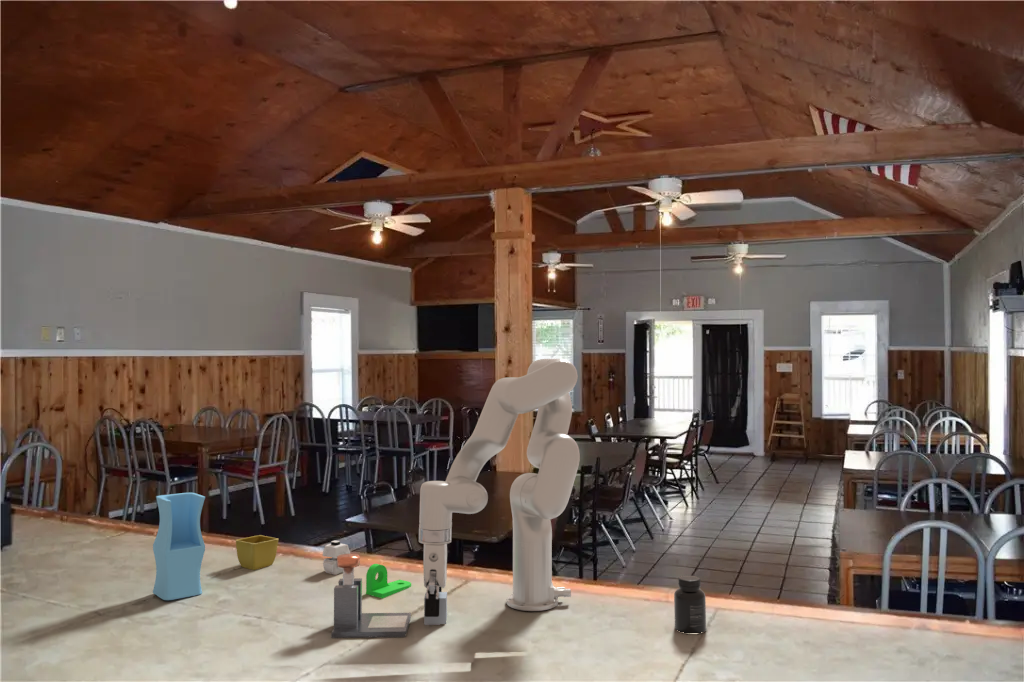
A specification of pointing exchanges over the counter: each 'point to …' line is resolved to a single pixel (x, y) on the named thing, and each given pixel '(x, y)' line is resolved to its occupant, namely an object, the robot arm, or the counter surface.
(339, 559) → the ram
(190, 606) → the counter surface
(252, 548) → the flower pot
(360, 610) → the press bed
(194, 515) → the vase
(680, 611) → the supplement bottle
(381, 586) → the mechanical part
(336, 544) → the grey blocky fitting
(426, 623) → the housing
